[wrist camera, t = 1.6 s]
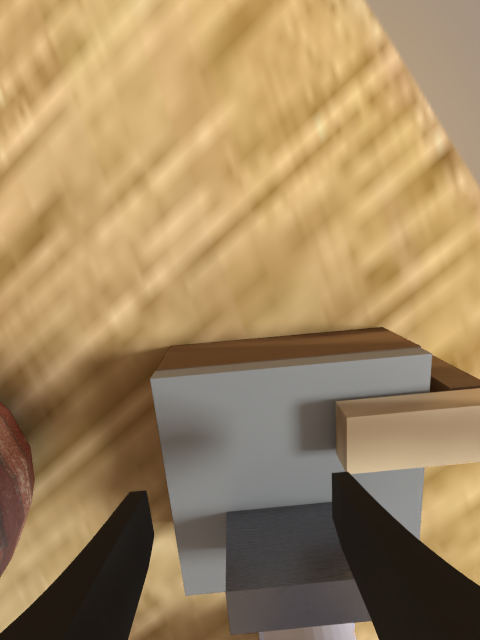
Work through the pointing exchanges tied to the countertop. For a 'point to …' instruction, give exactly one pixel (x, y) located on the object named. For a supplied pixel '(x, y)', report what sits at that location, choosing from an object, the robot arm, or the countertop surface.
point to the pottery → (13, 484)
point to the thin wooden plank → (408, 431)
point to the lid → (275, 480)
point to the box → (311, 353)
